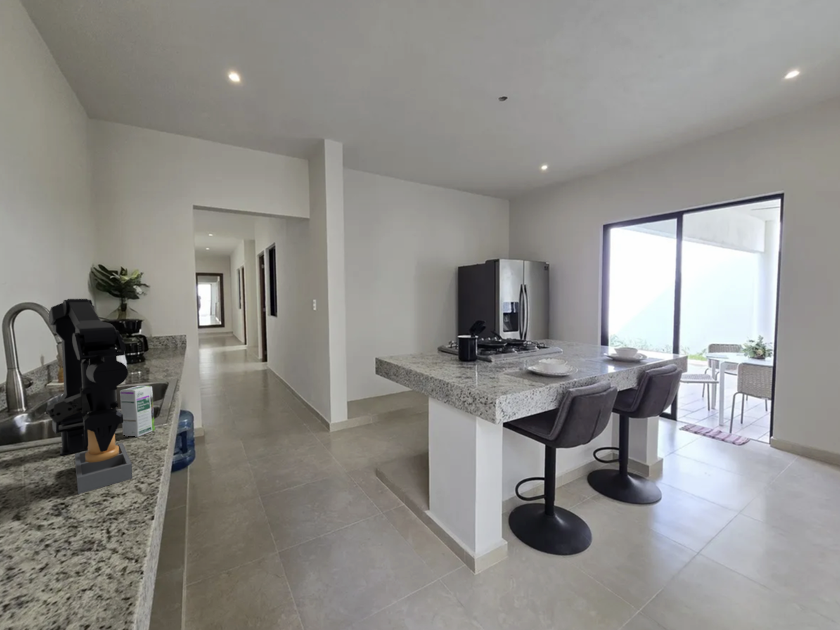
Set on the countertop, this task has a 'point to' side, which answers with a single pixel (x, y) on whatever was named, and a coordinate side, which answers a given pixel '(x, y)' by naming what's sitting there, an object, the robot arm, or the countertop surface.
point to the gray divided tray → (102, 470)
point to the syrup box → (137, 410)
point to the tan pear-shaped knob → (94, 451)
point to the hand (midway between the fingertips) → (102, 447)
